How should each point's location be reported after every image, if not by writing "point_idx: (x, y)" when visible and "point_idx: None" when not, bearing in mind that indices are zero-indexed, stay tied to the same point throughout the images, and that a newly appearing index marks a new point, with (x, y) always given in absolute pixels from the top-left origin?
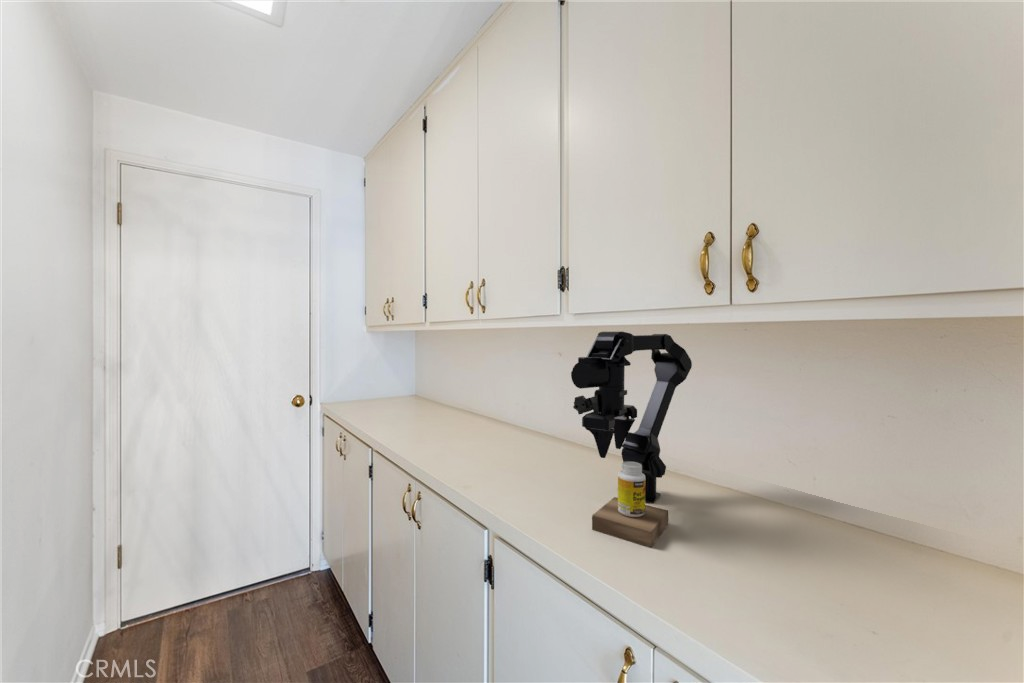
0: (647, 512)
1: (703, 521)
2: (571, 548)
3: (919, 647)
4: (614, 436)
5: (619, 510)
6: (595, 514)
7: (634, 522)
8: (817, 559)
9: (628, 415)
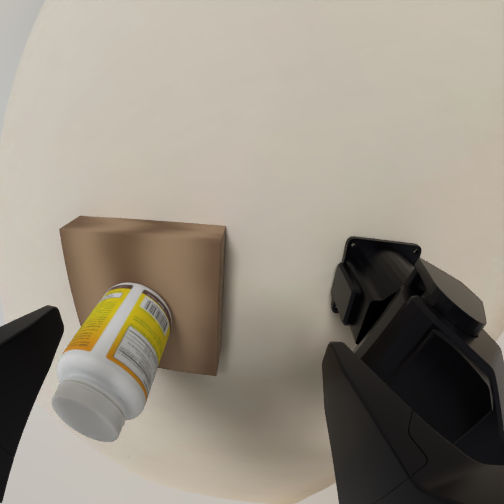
0: (169, 342)
1: (278, 394)
2: (11, 213)
3: (134, 465)
4: (361, 404)
5: (105, 293)
6: (67, 234)
7: None
8: (232, 463)
9: None
